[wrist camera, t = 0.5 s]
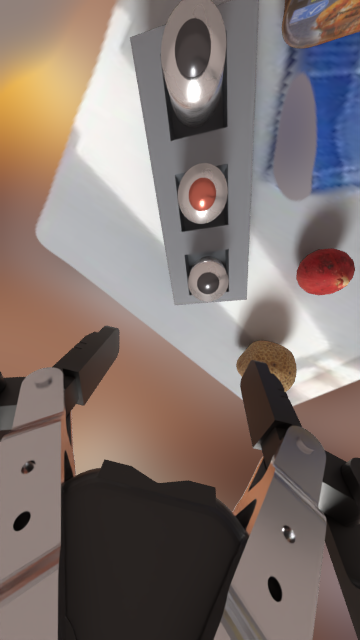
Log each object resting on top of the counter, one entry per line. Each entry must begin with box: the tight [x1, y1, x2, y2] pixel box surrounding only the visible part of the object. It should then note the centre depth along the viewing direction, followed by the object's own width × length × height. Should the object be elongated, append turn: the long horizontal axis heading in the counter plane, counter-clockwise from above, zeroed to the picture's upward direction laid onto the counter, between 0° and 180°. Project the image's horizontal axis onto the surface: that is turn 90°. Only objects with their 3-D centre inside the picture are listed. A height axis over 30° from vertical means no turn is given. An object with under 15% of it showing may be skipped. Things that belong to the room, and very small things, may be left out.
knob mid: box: [178, 163, 228, 224], centre depth 17 cm, size 4×4×4 cm
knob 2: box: [188, 256, 229, 302], centre depth 21 cm, size 4×4×4 cm
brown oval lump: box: [236, 341, 296, 392], centre depth 30 cm, size 9×9×10 cm
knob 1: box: [161, 0, 226, 127], centre depth 13 cm, size 4×4×4 cm
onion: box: [296, 249, 355, 295], centre depth 23 cm, size 6×6×8 cm
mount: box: [130, 0, 259, 305], centre depth 22 cm, size 10×24×6 cm, turn 8°
